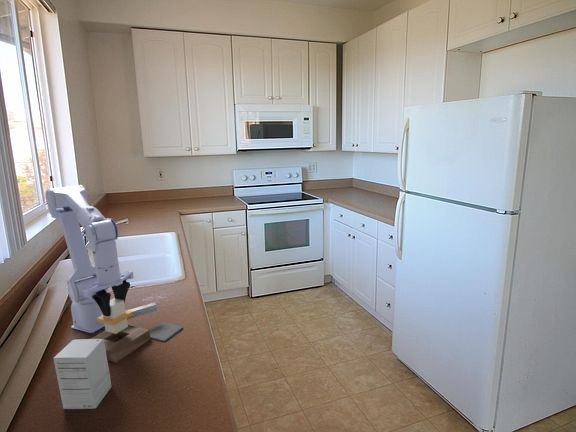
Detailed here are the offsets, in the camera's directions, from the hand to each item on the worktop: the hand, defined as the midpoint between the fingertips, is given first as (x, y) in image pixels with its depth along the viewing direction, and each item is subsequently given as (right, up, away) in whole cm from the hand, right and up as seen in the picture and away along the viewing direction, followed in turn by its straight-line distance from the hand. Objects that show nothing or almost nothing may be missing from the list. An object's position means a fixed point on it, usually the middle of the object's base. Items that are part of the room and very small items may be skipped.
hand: (113, 311), depth 101 cm
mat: (+11, -8, +8) cm, 16 cm away
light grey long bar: (+1, -5, +10) cm, 11 cm away
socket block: (0, -10, +2) cm, 10 cm away
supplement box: (+3, -15, -18) cm, 24 cm away
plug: (0, -5, +1) cm, 5 cm away
